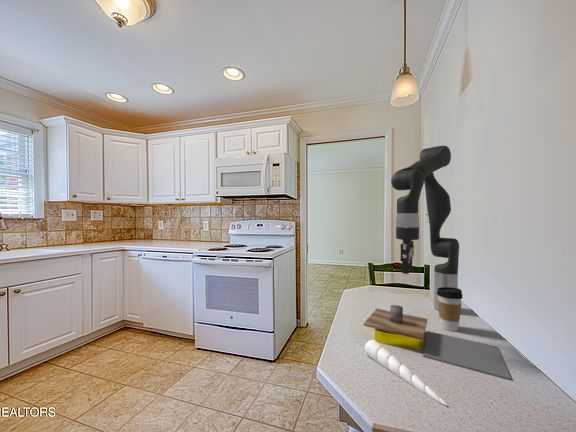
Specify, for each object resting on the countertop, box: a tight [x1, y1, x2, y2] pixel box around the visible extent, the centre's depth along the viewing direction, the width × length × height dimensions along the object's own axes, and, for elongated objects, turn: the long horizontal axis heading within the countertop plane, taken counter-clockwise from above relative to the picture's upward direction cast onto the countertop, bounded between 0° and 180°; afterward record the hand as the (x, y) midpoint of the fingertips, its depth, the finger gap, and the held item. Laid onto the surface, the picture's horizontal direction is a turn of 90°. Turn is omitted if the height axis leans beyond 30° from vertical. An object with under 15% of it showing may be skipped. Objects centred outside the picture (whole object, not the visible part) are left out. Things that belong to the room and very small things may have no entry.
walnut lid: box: [363, 304, 428, 340], centre depth 89 cm, size 18×18×6 cm
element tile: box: [373, 328, 425, 350], centre depth 88 cm, size 15×15×5 cm
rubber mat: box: [422, 330, 512, 381], centre depth 78 cm, size 20×20×1 cm
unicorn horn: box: [364, 339, 448, 407], centre depth 65 cm, size 5×24×5 cm, turn 22°
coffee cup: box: [437, 287, 463, 332], centre depth 96 cm, size 8×8×15 cm
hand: (407, 271), depth 90 cm, fingers open, 8 cm apart
